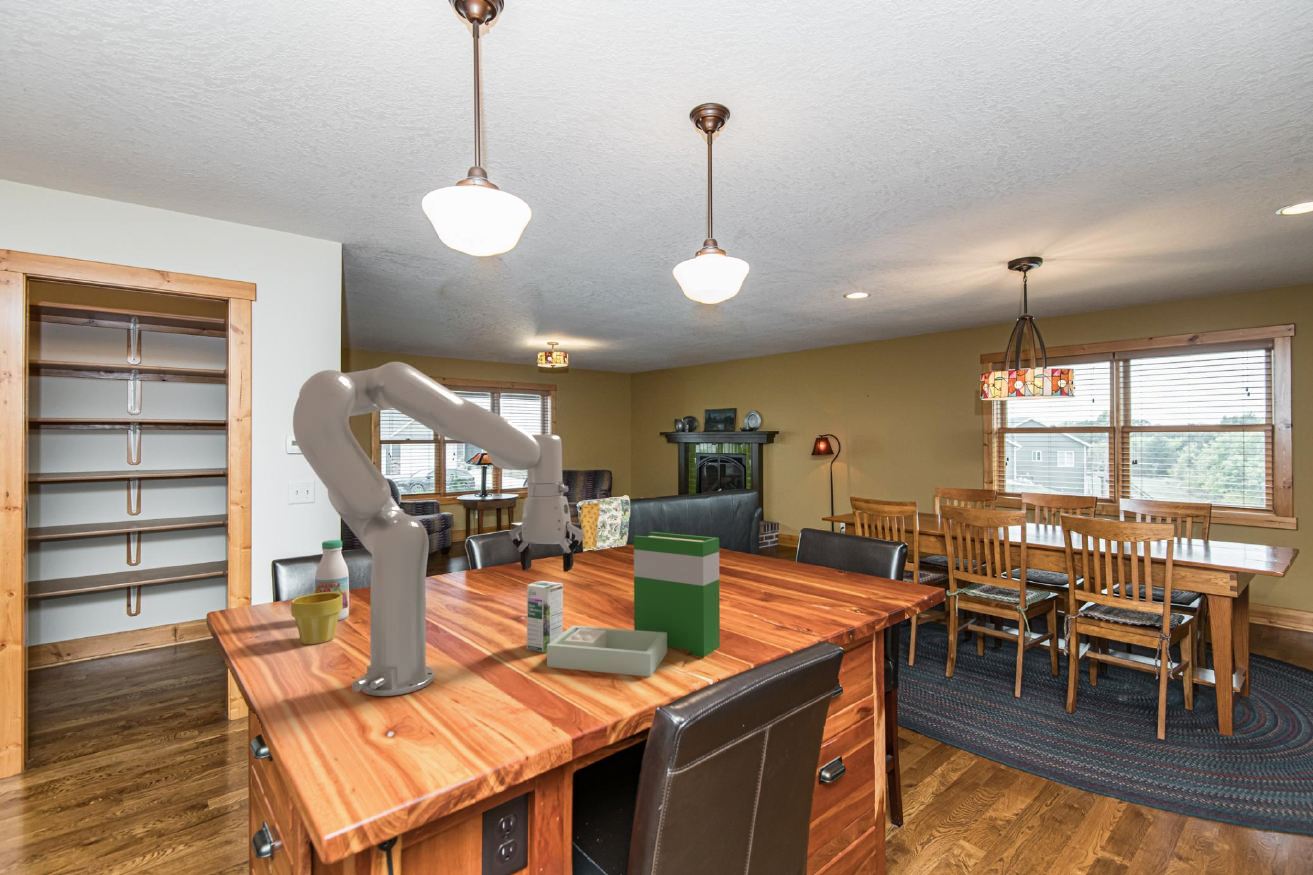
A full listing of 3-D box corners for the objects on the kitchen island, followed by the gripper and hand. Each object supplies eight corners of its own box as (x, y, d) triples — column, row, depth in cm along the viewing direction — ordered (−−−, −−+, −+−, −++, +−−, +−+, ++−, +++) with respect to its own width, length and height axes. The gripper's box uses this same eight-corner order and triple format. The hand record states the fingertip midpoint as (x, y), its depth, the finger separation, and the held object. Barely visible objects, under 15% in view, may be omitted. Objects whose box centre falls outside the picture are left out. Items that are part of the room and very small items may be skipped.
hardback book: (634, 643, 133) (633, 536, 133) (652, 634, 139) (651, 531, 140) (703, 657, 124) (703, 542, 124) (719, 647, 130) (719, 537, 130)
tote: (650, 680, 112) (650, 654, 112) (546, 670, 117) (546, 645, 117) (667, 656, 124) (666, 632, 124) (572, 648, 130) (572, 625, 130)
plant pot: (279, 645, 133) (279, 601, 133) (318, 631, 143) (318, 590, 143) (315, 649, 130) (316, 604, 130) (353, 635, 140) (353, 593, 140)
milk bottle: (316, 616, 155) (316, 540, 155) (349, 613, 158) (349, 538, 159) (313, 624, 148) (313, 544, 148) (348, 620, 151) (348, 542, 152)
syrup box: (525, 652, 127) (525, 584, 127) (543, 644, 132) (543, 579, 133) (546, 656, 125) (546, 587, 125) (563, 648, 130) (563, 581, 130)
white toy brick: (592, 665, 117) (592, 639, 117) (564, 662, 119) (564, 636, 119) (606, 651, 125) (605, 627, 125) (579, 649, 126) (579, 625, 127)
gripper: (588, 489, 131) (590, 567, 131) (517, 489, 135) (519, 564, 135) (575, 492, 123) (577, 575, 123) (500, 492, 128) (502, 572, 128)
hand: (547, 569), depth 129 cm, fingers open, 9 cm apart
